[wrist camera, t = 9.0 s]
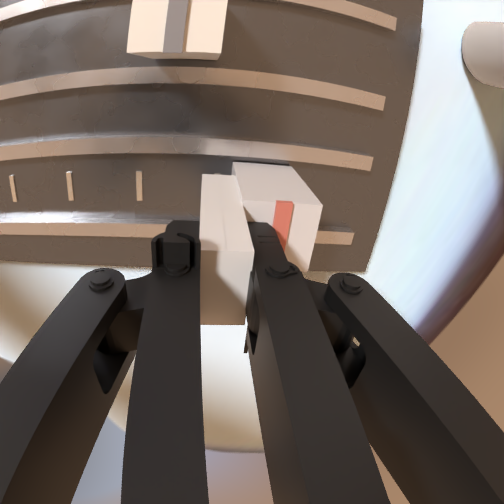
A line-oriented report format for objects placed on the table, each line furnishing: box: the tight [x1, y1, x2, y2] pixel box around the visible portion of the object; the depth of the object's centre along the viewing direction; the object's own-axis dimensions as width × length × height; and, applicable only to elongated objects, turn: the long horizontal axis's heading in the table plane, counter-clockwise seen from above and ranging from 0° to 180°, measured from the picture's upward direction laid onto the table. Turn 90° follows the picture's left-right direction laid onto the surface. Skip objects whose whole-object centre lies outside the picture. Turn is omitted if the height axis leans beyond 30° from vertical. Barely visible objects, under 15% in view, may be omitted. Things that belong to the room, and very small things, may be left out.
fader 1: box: [127, 0, 228, 60], centre depth 10 cm, size 3×3×5 cm
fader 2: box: [232, 162, 323, 272], centre depth 14 cm, size 3×3×5 cm
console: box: [0, 0, 423, 271], centre depth 14 cm, size 30×18×3 cm, turn 84°
